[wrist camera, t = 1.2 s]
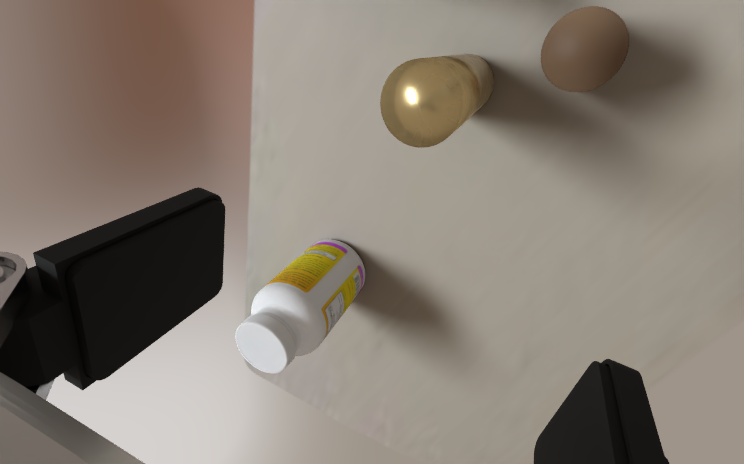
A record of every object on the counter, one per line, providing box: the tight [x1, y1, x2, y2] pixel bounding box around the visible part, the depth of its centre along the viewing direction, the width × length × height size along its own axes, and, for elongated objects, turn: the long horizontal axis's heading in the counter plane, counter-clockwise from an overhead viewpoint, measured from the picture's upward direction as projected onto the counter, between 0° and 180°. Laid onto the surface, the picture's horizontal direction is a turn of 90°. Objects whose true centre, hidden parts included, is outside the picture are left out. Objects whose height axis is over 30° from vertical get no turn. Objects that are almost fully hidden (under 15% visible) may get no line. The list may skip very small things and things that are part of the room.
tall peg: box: [380, 54, 494, 147], centre depth 24 cm, size 4×4×12 cm
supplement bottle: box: [235, 239, 365, 373], centre depth 35 cm, size 7×7×13 cm
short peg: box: [541, 6, 629, 92], centre depth 23 cm, size 4×4×6 cm
